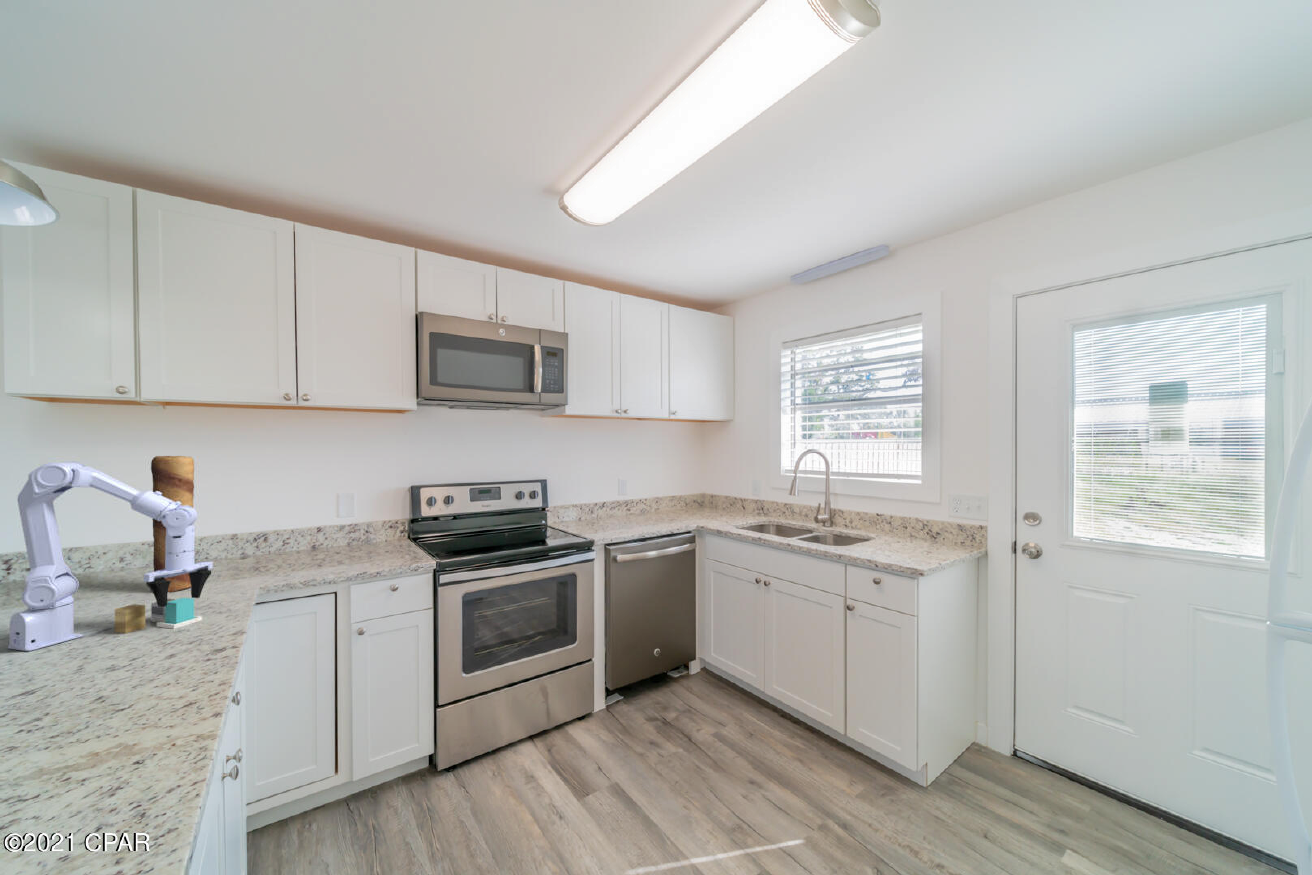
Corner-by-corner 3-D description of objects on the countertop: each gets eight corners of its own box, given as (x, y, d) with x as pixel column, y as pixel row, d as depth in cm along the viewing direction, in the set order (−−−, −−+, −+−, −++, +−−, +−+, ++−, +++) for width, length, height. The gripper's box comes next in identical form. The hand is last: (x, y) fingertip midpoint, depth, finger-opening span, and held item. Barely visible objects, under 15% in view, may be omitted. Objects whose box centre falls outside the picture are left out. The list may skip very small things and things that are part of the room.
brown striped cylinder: (150, 589, 166) (151, 456, 167) (193, 583, 174) (194, 455, 174) (149, 595, 159) (150, 456, 160) (194, 588, 166) (195, 455, 167)
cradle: (174, 628, 129) (174, 624, 129) (156, 626, 131) (156, 622, 131) (201, 620, 135) (201, 616, 135) (184, 618, 137) (184, 614, 137)
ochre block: (125, 633, 126) (125, 610, 126) (114, 632, 127) (114, 609, 127) (145, 628, 130) (145, 605, 130) (134, 626, 131) (134, 604, 131)
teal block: (176, 625, 130) (176, 603, 131) (165, 624, 132) (165, 602, 132) (193, 620, 134) (194, 598, 134) (183, 619, 135) (183, 597, 135)
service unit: (163, 623, 133) (163, 604, 133) (150, 621, 134) (150, 603, 134) (183, 617, 137) (183, 599, 138) (170, 616, 139) (170, 598, 139)
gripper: (157, 557, 125) (157, 611, 125) (220, 546, 139) (220, 594, 139) (138, 556, 127) (137, 609, 127) (202, 545, 141) (201, 593, 141)
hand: (179, 601), depth 133 cm, fingers open, 7 cm apart
